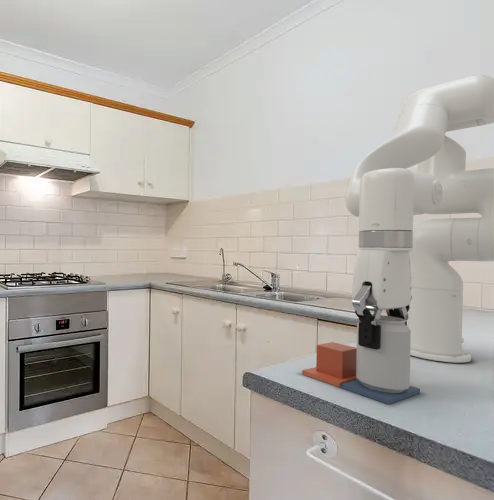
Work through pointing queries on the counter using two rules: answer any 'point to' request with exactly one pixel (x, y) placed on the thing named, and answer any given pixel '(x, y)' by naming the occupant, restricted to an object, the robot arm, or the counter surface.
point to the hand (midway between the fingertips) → (382, 344)
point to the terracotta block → (336, 359)
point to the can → (386, 358)
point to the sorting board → (360, 387)
